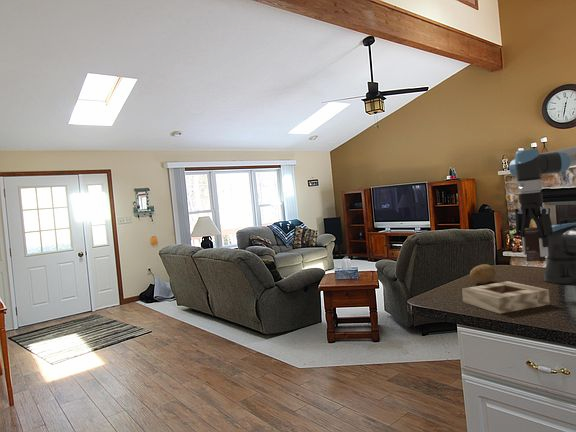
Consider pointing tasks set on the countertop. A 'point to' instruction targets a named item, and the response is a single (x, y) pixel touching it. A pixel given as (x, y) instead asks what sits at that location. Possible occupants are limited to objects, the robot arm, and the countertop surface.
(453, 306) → the countertop surface
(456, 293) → the countertop surface
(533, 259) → the box
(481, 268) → the potato
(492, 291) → the square frame
